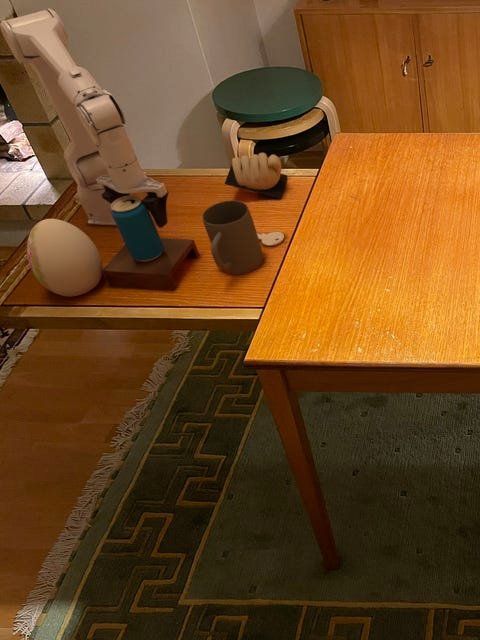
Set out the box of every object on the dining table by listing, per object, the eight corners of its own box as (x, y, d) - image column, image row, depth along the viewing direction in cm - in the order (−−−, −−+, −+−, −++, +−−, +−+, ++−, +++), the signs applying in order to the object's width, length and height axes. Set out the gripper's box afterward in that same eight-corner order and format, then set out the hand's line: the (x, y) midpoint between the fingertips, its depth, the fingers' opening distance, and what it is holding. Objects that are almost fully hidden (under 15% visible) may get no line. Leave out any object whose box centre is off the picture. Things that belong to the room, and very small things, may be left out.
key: (288, 233, 154) (274, 246, 151) (288, 235, 155) (275, 247, 151) (247, 224, 158) (233, 237, 155) (247, 225, 158) (233, 238, 155)
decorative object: (292, 148, 168) (286, 172, 161) (285, 184, 175) (279, 208, 168) (236, 133, 164) (227, 156, 158) (231, 170, 171) (223, 194, 164)
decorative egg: (61, 267, 150) (26, 205, 140) (119, 265, 150) (88, 203, 140) (36, 304, 141) (-3, 241, 131) (97, 302, 141) (62, 238, 131)
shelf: (110, 286, 145) (101, 270, 142) (139, 251, 153) (131, 236, 150) (174, 290, 143) (167, 274, 140) (199, 255, 151) (193, 239, 148)
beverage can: (171, 247, 147) (150, 196, 138) (152, 265, 142) (128, 214, 134) (145, 243, 148) (122, 192, 140) (125, 261, 144) (100, 209, 136)
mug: (229, 248, 152) (211, 199, 144) (270, 249, 151) (255, 200, 143) (204, 288, 143) (184, 238, 134) (248, 289, 142) (230, 239, 133)
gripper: (165, 154, 135) (189, 216, 145) (103, 146, 139) (130, 207, 149) (142, 173, 131) (168, 235, 140) (78, 164, 134) (108, 225, 144)
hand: (147, 222), depth 144 cm, fingers open, 7 cm apart
